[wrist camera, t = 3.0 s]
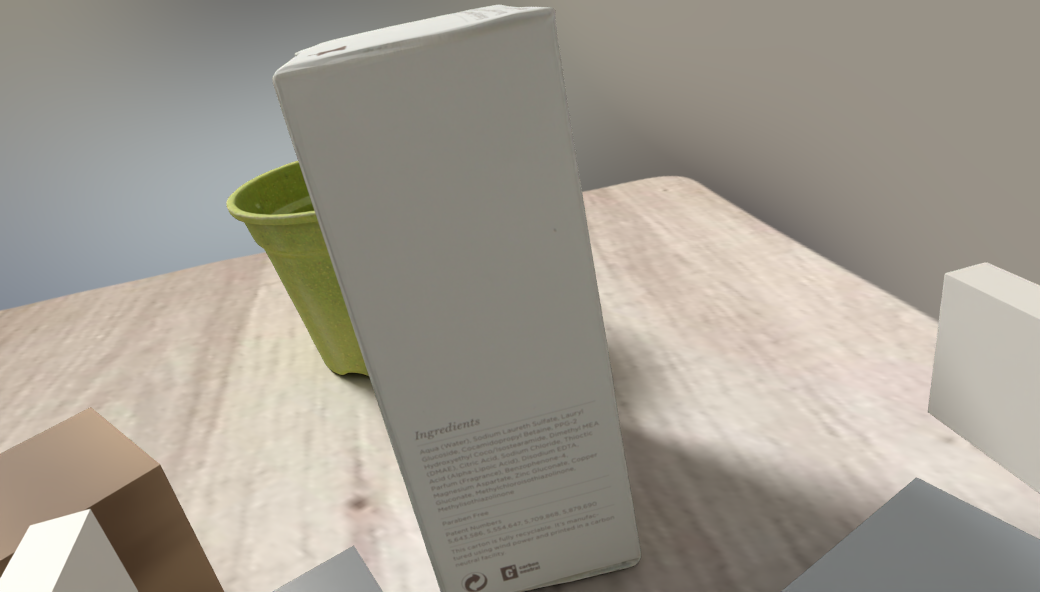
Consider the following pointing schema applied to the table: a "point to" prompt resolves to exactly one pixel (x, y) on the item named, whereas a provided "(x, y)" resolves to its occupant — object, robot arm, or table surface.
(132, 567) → the walnut block
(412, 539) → the table surface
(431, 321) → the skincare box
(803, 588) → the flat blue-grey brick
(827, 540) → the table surface
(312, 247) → the plant pot
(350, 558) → the tray
